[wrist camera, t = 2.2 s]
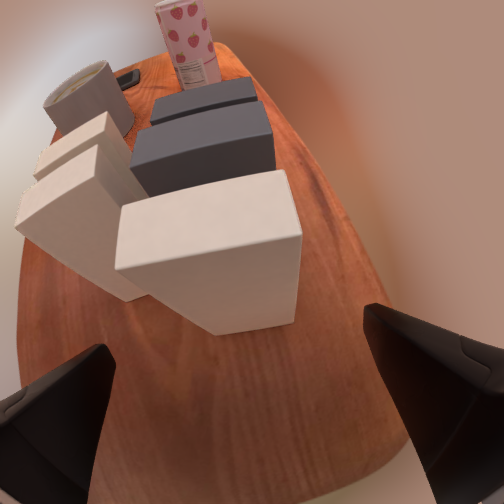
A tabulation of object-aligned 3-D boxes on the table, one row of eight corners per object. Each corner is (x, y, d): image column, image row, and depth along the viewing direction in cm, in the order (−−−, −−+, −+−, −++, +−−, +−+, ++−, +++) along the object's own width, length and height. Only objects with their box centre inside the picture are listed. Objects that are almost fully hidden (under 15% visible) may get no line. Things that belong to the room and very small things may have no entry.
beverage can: (230, 81, 32) (210, -11, 19) (209, 102, 30) (180, -1, 17) (198, 80, 34) (173, -4, 21) (176, 99, 32) (143, 9, 19)
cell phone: (81, 100, 40) (79, 98, 40) (140, 70, 41) (138, 67, 40) (74, 116, 37) (73, 113, 36) (139, 82, 38) (138, 79, 37)
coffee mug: (138, 132, 30) (106, 71, 21) (75, 170, 29) (35, 118, 20) (130, 96, 36) (108, 49, 27) (80, 125, 35) (53, 83, 26)
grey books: (283, 266, 20) (273, 132, 9) (208, 279, 20) (128, 167, 9) (267, 195, 22) (248, 64, 12) (203, 207, 23) (150, 88, 12)
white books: (186, 280, 20) (93, 175, 9) (126, 302, 20) (13, 228, 9) (170, 213, 23) (104, 105, 12) (118, 236, 23) (37, 148, 12)
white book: (294, 323, 18) (303, 234, 7) (214, 336, 18) (113, 270, 7) (287, 290, 19) (284, 167, 8) (210, 303, 19) (121, 204, 8)
